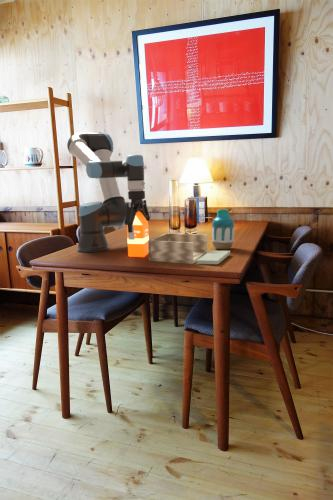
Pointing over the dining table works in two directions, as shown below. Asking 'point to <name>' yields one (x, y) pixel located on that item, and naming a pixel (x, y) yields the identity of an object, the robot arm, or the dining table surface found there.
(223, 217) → the vase
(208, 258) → the panel
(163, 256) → the crate
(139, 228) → the orange juice
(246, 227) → the dining table surface
